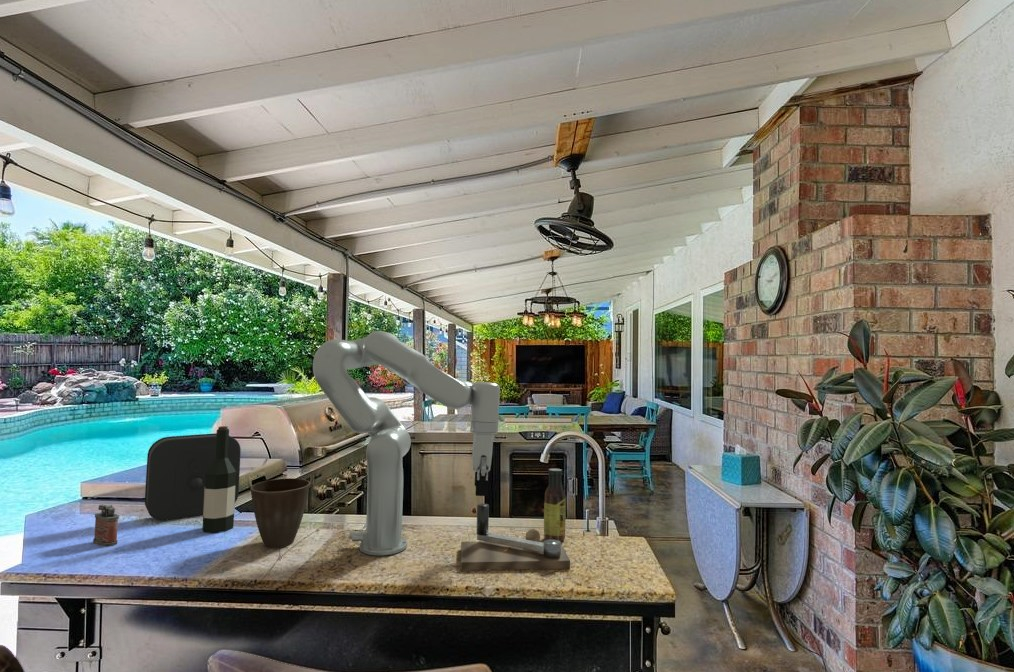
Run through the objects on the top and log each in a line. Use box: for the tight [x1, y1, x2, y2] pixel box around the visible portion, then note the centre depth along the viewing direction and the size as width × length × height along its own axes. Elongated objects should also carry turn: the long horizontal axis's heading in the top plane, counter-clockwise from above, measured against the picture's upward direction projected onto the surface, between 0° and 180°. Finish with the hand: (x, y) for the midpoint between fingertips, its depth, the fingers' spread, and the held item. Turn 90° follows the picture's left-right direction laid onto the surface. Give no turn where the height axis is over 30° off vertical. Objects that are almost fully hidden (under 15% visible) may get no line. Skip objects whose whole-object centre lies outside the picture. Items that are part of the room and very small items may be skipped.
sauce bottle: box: [543, 467, 567, 542], centre depth 145 cm, size 7×6×20 cm
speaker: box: [144, 432, 242, 522], centre depth 161 cm, size 25×9×25 cm, turn 131°
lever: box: [476, 503, 562, 558], centre depth 130 cm, size 24×4×10 cm, turn 65°
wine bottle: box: [201, 425, 236, 534], centre depth 148 cm, size 8×8×30 cm
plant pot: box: [250, 477, 311, 549], centre depth 137 cm, size 15×15×16 cm
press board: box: [460, 528, 571, 572], centre depth 129 cm, size 27×14×6 cm, turn 95°
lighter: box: [92, 504, 120, 548], centre depth 135 cm, size 8×3×10 cm, turn 65°
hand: (480, 490), depth 135 cm, fingers open, 9 cm apart
